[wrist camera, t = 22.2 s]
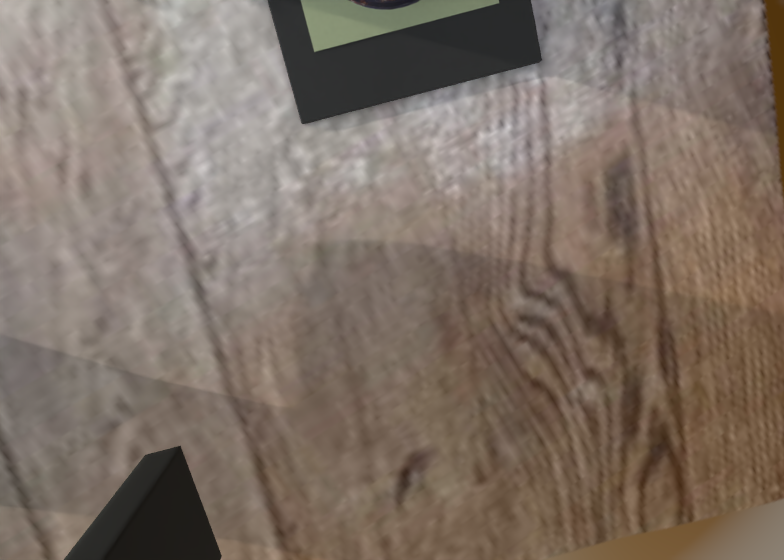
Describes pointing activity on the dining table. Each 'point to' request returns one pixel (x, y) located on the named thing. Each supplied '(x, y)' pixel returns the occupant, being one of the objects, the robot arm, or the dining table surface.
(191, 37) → the dining table surface
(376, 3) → the dark oil barrel
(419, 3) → the mat
